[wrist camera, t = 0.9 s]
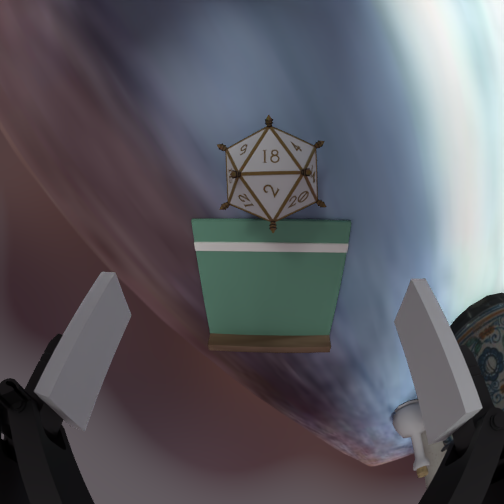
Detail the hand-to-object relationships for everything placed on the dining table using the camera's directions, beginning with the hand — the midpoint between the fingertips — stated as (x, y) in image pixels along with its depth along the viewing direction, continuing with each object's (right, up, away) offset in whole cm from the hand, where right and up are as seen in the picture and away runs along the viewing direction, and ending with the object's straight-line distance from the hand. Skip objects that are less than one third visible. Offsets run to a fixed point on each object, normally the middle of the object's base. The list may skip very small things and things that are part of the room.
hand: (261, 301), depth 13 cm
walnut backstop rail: (+2, -9, +27) cm, 28 cm away
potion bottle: (+35, -32, +40) cm, 62 cm away
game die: (+1, +10, +14) cm, 17 cm away
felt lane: (+2, -2, +21) cm, 22 cm away
